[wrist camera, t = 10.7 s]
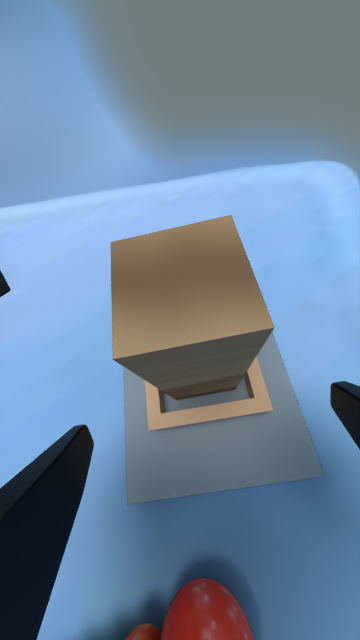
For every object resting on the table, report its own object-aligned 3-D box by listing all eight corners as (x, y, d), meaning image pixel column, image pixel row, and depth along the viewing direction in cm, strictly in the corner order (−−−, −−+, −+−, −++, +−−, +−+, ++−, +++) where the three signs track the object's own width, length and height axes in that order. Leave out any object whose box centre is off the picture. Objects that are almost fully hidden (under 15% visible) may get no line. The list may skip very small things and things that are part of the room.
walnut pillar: (235, 389, 18) (274, 327, 6) (176, 400, 18) (112, 359, 7) (221, 334, 20) (231, 214, 9) (168, 344, 21) (110, 242, 9)
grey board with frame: (318, 473, 16) (339, 483, 13) (131, 500, 17) (116, 514, 14) (248, 275, 24) (252, 257, 21) (124, 300, 25) (113, 285, 22)
